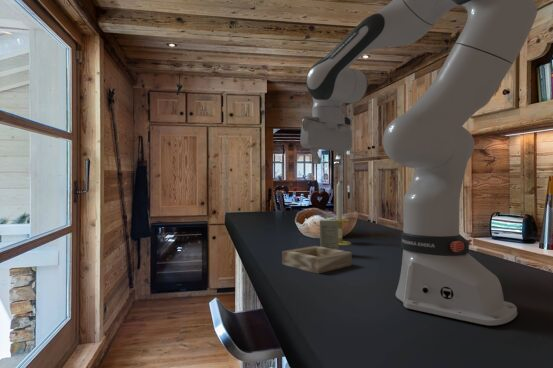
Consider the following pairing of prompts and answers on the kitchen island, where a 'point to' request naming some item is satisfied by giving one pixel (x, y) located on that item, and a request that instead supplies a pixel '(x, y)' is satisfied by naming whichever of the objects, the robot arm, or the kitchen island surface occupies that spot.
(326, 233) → the skincare box
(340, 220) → the candle
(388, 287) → the kitchen island surface
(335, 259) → the wooden tray
